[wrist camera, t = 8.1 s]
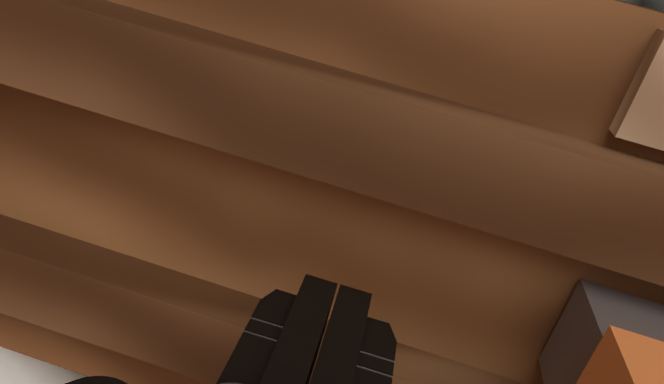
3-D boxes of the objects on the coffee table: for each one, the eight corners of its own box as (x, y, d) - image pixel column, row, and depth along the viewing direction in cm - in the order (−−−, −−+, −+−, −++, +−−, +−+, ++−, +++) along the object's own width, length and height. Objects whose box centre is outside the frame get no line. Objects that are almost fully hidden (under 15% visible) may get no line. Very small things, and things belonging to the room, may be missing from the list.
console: (-87, -193, 16) (-224, -228, 12) (978, 98, 14) (1137, 145, 10) (-56, 282, 22) (-139, 338, 19) (655, 520, 20) (693, 625, 17)
